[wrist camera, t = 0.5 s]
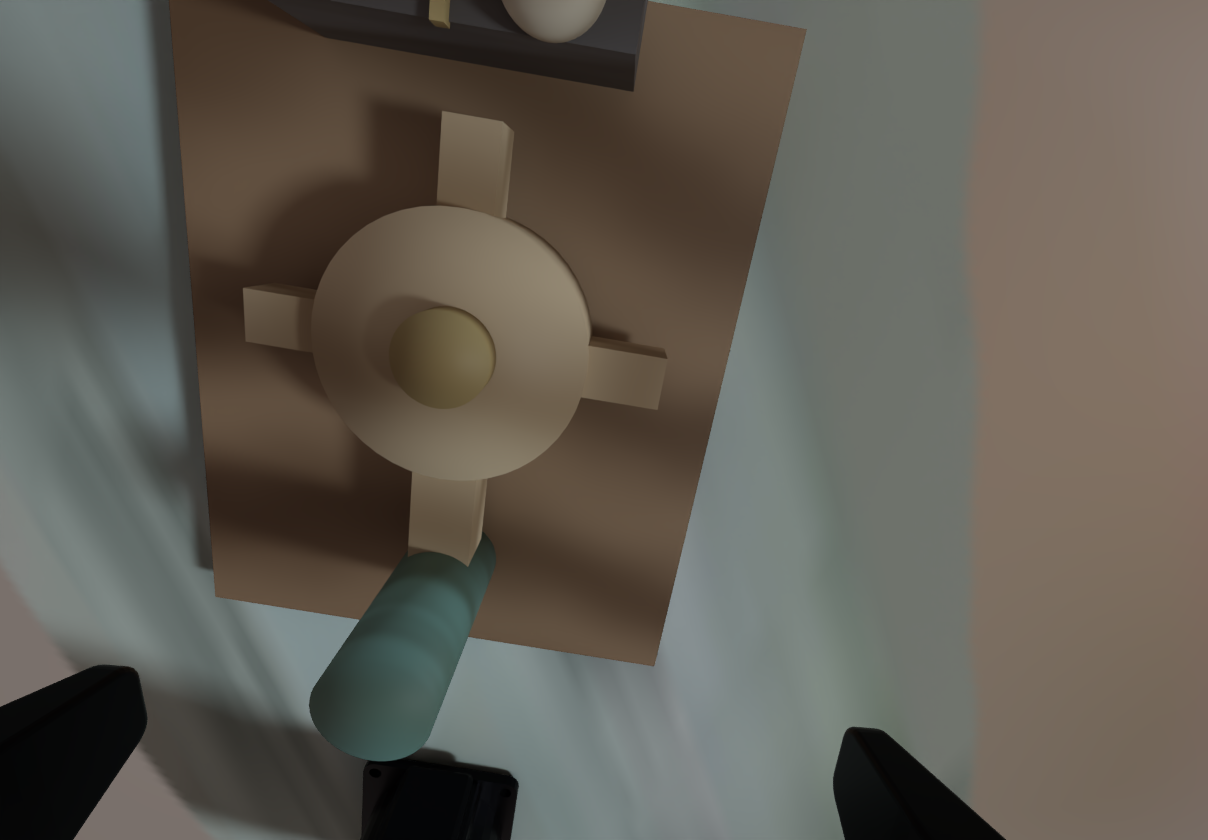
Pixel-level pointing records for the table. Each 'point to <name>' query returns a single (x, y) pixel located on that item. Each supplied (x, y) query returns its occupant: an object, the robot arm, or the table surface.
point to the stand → (535, 199)
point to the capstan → (443, 409)
